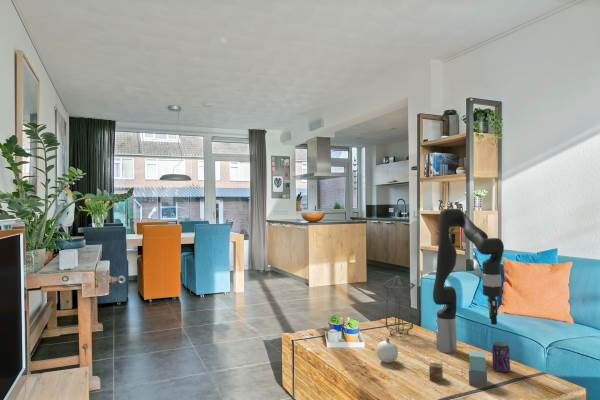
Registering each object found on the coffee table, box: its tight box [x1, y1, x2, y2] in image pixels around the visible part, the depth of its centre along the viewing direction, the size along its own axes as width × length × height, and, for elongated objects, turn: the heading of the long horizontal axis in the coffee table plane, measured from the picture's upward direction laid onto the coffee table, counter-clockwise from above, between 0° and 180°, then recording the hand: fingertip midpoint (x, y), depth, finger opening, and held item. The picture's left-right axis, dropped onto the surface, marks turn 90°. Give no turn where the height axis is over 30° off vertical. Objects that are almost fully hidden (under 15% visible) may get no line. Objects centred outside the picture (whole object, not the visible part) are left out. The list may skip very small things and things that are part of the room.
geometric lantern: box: [380, 275, 416, 338], centre depth 248 cm, size 16×16×35 cm
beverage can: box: [491, 341, 511, 373], centre depth 190 cm, size 7×7×12 cm
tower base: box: [468, 364, 488, 388], centre depth 177 cm, size 7×7×6 cm
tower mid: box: [469, 350, 486, 372], centre depth 177 cm, size 6×6×6 cm
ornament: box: [376, 337, 399, 364], centre depth 204 cm, size 10×10×12 cm
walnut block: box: [428, 362, 444, 383], centre depth 182 cm, size 5×5×6 cm
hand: (493, 321), depth 181 cm, fingers open, 8 cm apart
